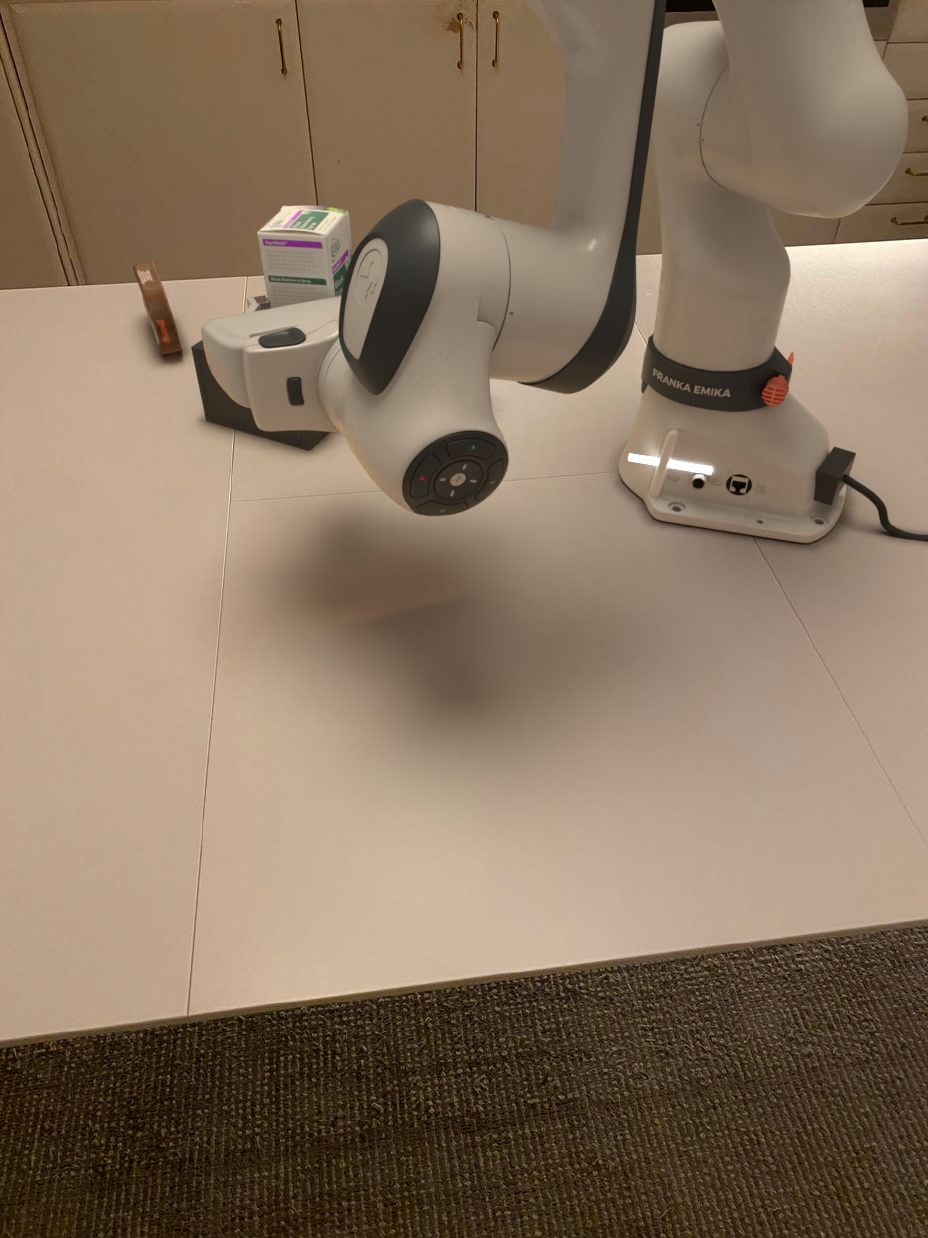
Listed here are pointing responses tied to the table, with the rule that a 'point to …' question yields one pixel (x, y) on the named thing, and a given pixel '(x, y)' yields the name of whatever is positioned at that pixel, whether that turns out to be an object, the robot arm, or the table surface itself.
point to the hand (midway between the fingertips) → (309, 295)
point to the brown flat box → (157, 307)
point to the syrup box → (305, 254)
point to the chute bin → (240, 408)
